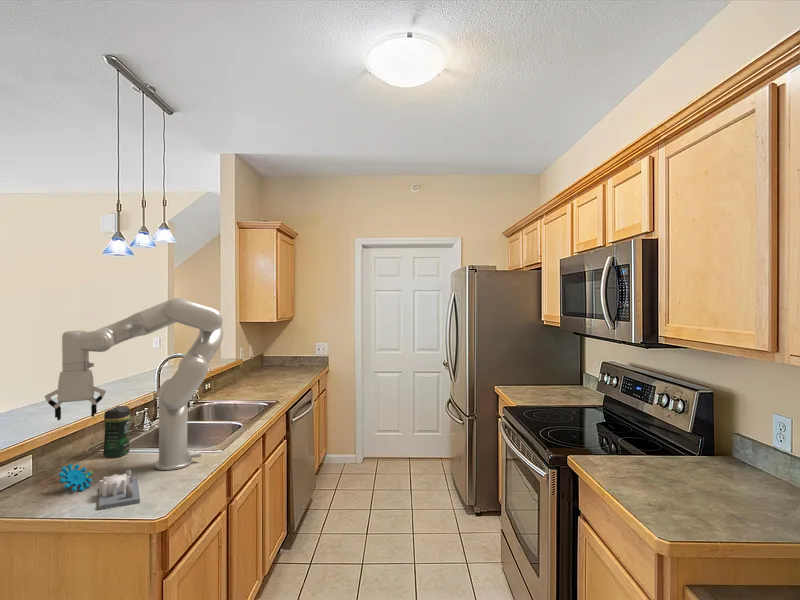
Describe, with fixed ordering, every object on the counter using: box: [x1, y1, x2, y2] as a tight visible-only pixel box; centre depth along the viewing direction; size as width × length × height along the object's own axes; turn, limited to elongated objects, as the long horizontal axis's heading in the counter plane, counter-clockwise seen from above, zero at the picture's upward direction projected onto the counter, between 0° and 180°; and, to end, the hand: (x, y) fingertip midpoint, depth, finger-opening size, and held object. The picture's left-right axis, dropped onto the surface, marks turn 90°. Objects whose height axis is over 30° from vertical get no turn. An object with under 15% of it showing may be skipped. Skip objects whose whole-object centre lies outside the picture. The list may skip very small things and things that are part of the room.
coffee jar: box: [103, 405, 131, 459], centre depth 193 cm, size 10×8×19 cm
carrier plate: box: [98, 469, 141, 511], centre depth 154 cm, size 11×20×5 cm, turn 30°
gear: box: [58, 463, 94, 493], centre depth 159 cm, size 11×6×10 cm
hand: (76, 417), depth 167 cm, fingers open, 9 cm apart
